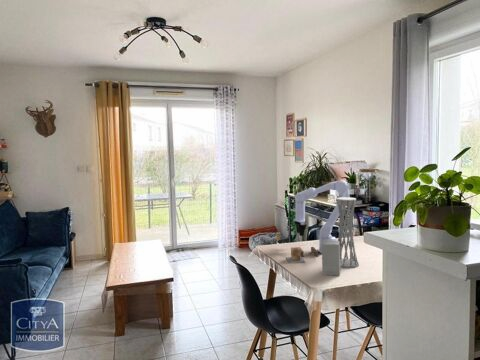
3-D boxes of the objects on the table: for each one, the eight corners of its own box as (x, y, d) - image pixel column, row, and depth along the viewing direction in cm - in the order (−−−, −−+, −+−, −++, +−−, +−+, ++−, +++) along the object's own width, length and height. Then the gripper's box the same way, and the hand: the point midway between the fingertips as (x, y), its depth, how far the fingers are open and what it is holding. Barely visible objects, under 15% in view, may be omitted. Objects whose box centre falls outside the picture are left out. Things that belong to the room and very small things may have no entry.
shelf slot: (313, 251, 210) (313, 246, 210) (317, 256, 200) (317, 251, 200) (297, 252, 210) (297, 247, 210) (301, 257, 200) (301, 251, 200)
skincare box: (340, 272, 174) (340, 240, 173) (339, 276, 167) (339, 244, 166) (322, 270, 177) (323, 239, 176) (321, 275, 170) (321, 242, 169)
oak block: (298, 257, 197) (298, 247, 196) (300, 260, 192) (300, 249, 192) (290, 258, 197) (290, 247, 196) (292, 260, 192) (292, 249, 192)
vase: (351, 259, 194) (352, 196, 192) (363, 267, 181) (365, 199, 178) (328, 261, 192) (328, 197, 189) (339, 269, 179) (339, 200, 176)
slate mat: (301, 257, 199) (301, 256, 199) (305, 262, 190) (305, 261, 190) (285, 257, 199) (285, 257, 199) (288, 262, 190) (288, 261, 190)
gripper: (291, 210, 221) (291, 231, 222) (295, 214, 207) (295, 237, 208) (302, 210, 221) (302, 231, 222) (307, 214, 207) (307, 236, 208)
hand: (300, 234), depth 215 cm, fingers open, 7 cm apart
